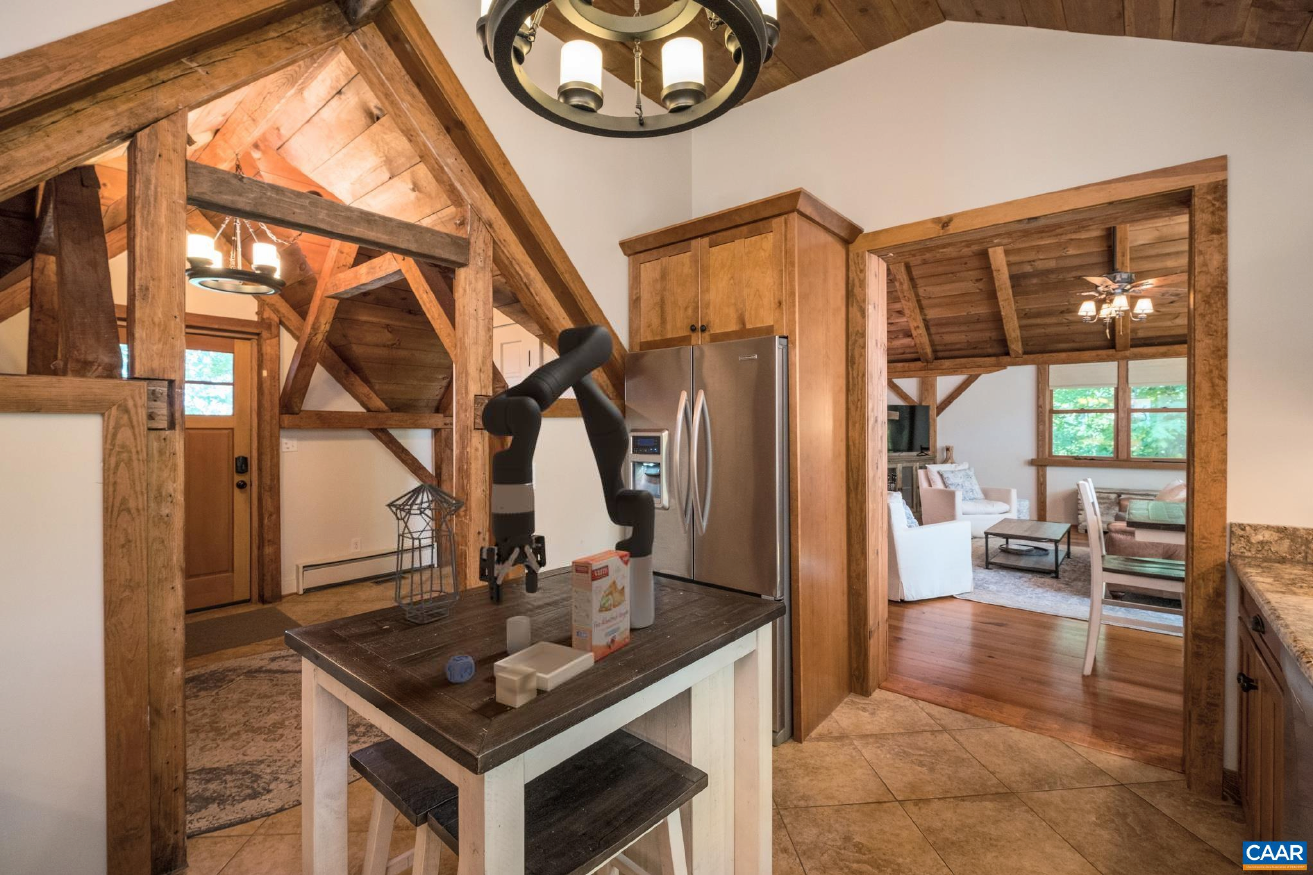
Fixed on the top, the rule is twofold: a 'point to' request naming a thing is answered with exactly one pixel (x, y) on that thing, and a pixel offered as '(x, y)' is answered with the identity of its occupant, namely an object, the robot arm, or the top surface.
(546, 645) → the tray
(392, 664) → the top surface
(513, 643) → the grey rounded cylinder
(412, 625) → the top surface
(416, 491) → the geometric lantern
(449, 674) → the decorative dice
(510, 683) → the wooden block
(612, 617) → the cracker box
